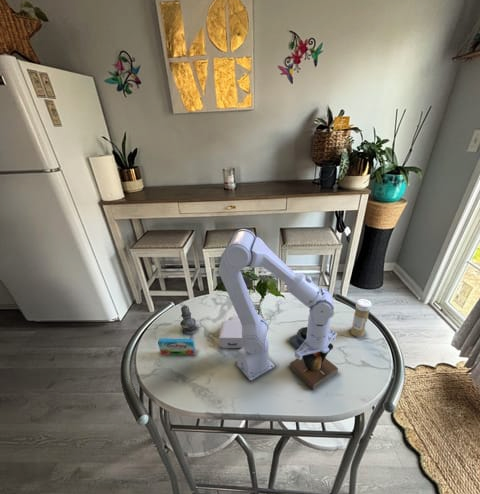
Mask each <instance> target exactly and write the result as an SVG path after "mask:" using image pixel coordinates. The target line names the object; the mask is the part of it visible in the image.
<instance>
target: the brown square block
mask: <svg viewBox="0 0 480 494" xmlns="http://www.w3.org/2000/svg"><path fill="white" fill-rule="evenodd" d="M289 368H290V370H291V371H292V372H294V373H295V374H296V375H297V376H298V378H300V379H301V381H303V382H304V383H305V384H306V385H307V386H308V387H309V388H310V390H312V391H314V390H316V389H317V388H319V387H320V386H322V385H323V384H324V383H326V382H327V381H329V380H331V379H332V378H333V377H335V376H336V375H338V371H339V367H337V366H336V365H335V364H334V363H332V362H331V361H330V360H328V359H327V358H326V357H325V359H324V361H323V362H322V363H321V367H320V369H319V370H309V369H308V368H307V367H305V363H304V360H303V357H302V359H301V360H299V359H297V358H295V359H294V360H292V361H291V362H290V363H289Z"/></svg>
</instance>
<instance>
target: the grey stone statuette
mask: <svg viewBox="0 0 480 494" xmlns="http://www.w3.org/2000/svg"><path fill="white" fill-rule="evenodd" d="M180 311H181V318H182V320H181V321H180V323H179V325H180V327H181V328H182V333H183V334H184V335H192V334H195V333H196V332H197V329H198V328H197V327H196V325H197V324H196V323H197V320H196V319H195V318H194V317H192V312H191V311H190V306H188V305H186V304H183V306H181V307H180Z"/></svg>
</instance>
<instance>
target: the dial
mask: <svg viewBox="0 0 480 494" xmlns="http://www.w3.org/2000/svg"><path fill="white" fill-rule="evenodd" d="M313 355H315V356H316V357H317V359H316V360H315V361H314V364H313V368H312V369H311V370H319V369H320V367H321V360H322V357H321V355H320V353H313Z"/></svg>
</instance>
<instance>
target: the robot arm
mask: <svg viewBox="0 0 480 494" xmlns="http://www.w3.org/2000/svg"><path fill="white" fill-rule="evenodd" d="M248 265H249V269H255V268H264V269H265V270H266V271H268V272H269V273H271V274H272V275H273V276H275V277H276V278H278V279H279V280H280V281H282V283H284V284H286V290H287V292H288V293H289V294H290V295H292V296H293V297H294V298H295V299H297V300H298V301H299V302H300V303H301V304H303V305H304V306H305V307H307V308H309V310H308V311H309V314H308V316H307V318H308V319H307V327H308V328H307V338H306V340H305V341H304V342H303V344H302V345H301V346H300V347H299V349H295V351H294V357H295V359H299V360H301V359H302V357H303V360H304V363H305V367H307V368H308V369H309V370H311V369H312V368H313V364H314V361H315V360H316V359H317V357H316V356H315V355H313V353H320V355H321V357H322V360H321V363H322V362H323V361H324V359H325V358H326V357H327V356H328V354H329V353H330V352H331V351H332V350H333V349H334V344H332V343H331V342H332V341H333V340H336V339H337V335H338V333H337V332H335V331H334V330H333V329H332V330H330V326H331V322H332V321H331V319H332V317H333V316H334V314H335V311H334V302H333V296H332V293H331V292H330V290H329V289H328V288H325V287H319V286H318V285H317V284H316V283H315V282H314V281H313V280H312V279H313V278H312V277H311V276H310V275H305V274H304V273H302V272H295V271H294V270H293V269H291V268H290V267H289V266H288V265H287V264H286V263H285V262H284V261H283V260H282V259H281V258H280V257H278V255H277V254H275V252H274V251H272V250H271V249H270V248H269V247H268V246H267V245H266V243H265V242H264V241H263V240H262V238H260V237H259V236H256V235H255V234H254V232H253V231H251V230H249V229H245V228H241V229H238V230H235V232H234V234H233V235H232V236H231V237H230V239H229V241H228V242H227V245H226V246H225V248H224V250H223V251H222V253H221V255H220V262H219V268H218V274H219V277H220V279H221V282H222V283H223V287H224V288H225V290H226V293H227V295H228V297H229V299H230V301H231V304H232V306H233V308H234V310H235V313H236V315H237V317H239V320H240V322H241V324H242V338H243V340H244V343H243V347H242V348H239V349H238V350H237V351H236V358H237V363H236V366H237V367H238V368H239V369H240V370H241V372H242V374H244V375H245V376H246V378H247V379H248V380H249V381H253V380H255V379H256V378H258V377H260V376H261V375H263V374H265V373H267V372H268V371H270V370H272V369H273V368H275V364H274V363H273V362H272V361H271V360H270V357H269V356H270V353H269V352H270V351H269V346H270V345H269V341H268V338H267V337H268V336H267V335H268V331H269V324H268V322H267V321H265V320H264V319H263V317H262V314H258V311H257V309H256V307H255V304H254V301H253V300H252V297H251V294H250V292H249V289H248V286H247V284H246V282H245V279H244V277H243V275H242V272H241V270H244V268H246V267H247V266H248Z"/></svg>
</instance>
